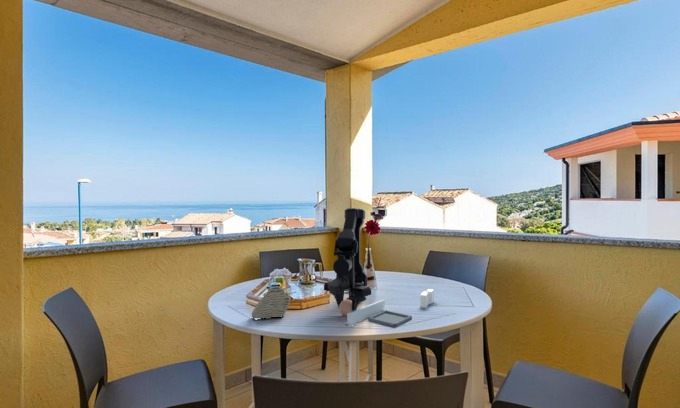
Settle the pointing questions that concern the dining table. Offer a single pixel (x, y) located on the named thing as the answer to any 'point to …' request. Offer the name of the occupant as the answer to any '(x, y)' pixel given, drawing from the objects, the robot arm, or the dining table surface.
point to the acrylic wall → (365, 312)
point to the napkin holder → (426, 298)
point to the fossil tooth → (272, 304)
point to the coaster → (390, 318)
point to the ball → (345, 307)
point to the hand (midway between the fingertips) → (347, 311)
